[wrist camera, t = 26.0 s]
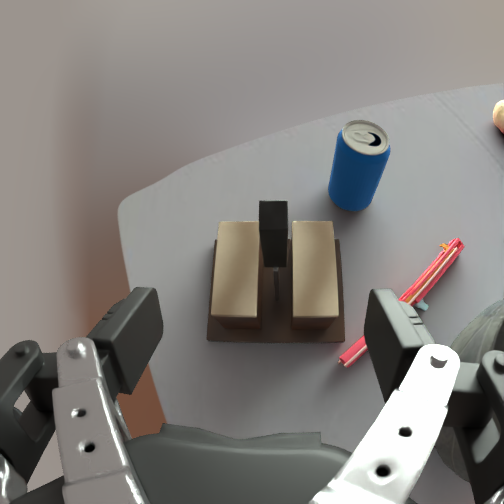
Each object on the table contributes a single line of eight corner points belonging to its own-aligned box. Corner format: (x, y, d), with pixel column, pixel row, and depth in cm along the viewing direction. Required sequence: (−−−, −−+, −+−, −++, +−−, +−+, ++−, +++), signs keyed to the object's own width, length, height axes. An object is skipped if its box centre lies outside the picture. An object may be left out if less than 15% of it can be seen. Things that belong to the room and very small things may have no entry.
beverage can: (370, 217, 41) (394, 162, 30) (325, 210, 42) (337, 151, 31) (371, 181, 43) (390, 123, 32) (329, 173, 44) (339, 113, 33)
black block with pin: (268, 300, 36) (258, 233, 21) (269, 276, 38) (259, 196, 22) (285, 301, 36) (288, 233, 21) (285, 276, 37) (287, 196, 22)
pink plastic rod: (462, 259, 38) (446, 233, 38) (471, 257, 36) (456, 230, 36) (350, 379, 33) (329, 351, 34) (357, 383, 31) (335, 353, 32)
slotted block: (208, 341, 36) (189, 329, 29) (216, 242, 41) (202, 210, 34) (343, 342, 35) (360, 330, 27) (338, 242, 40) (349, 209, 32)
